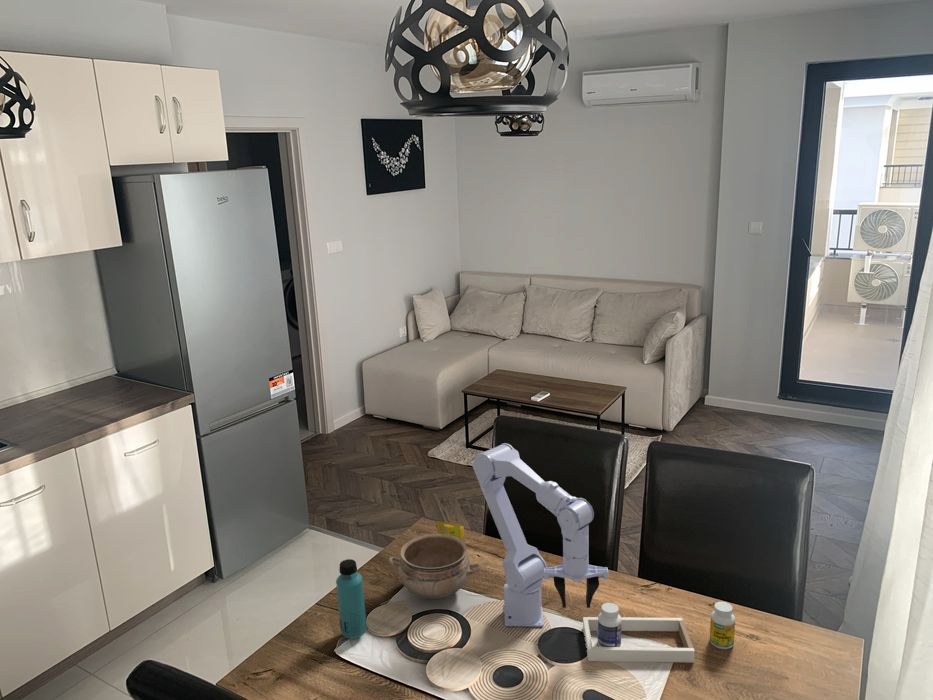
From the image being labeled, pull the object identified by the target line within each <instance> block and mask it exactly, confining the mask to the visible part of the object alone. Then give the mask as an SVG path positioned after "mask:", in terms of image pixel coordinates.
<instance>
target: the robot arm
mask: <svg viewBox="0 0 933 700" xmlns="http://www.w3.org/2000/svg"><path fill="white" fill-rule="evenodd" d="M471 466H472V469H473V471H474V474H475V475H476V479H477V482H478V484H479V486H480V489H481V491H482V494H483V496H484V498H485V501H486V503H487V507H488V509H489V512H490V514H491V516H492V519H493V521H494V523H495V526H496V528H497V531H498V534H499V536H500V538H501V541H502V544H503V545H504V548H505V550H506V553H505V557H504V560H503V562H502V568H503V570H504V578H505V582H506V583H504V585H503V586H504V587H503V588H504V589H503V590H504V591H503V595H504V596H503V599H504V600H503V602H504V604H503V606H502V611H503V612H502V613H504V626H505V627H530V628H531V627H536V628H538V627H544V625H545V623H544V611H543V608H544V607H543V606H542V585H543V582H544V580H549V579H553V584H554V586H555V588H556V590H557V593H558V594H559V597H560V600H561V604H562V608H563V609H566V607H567V602H566V583H565V582H566V581H565V579H568V580H572V582H573V583H580V582H583V580H585V579H586V590H585V591H586V594H585V603H586V608H587V609H590V608H591V604H592V600H593V597H594V595H595V593H596V591H597V590H598V589H599V586H600V580H599V579H601V578H602V579H603V580H609V579H610V578H609V569H608V568H609V567H608V566H607V567H606V566H604V567H603V566H597V565H591V564H589V563H590V562H589V547H590V545H589V542H590V541H589V536H590V535H589V531H590V530H589V524H590V523H591V522H592V521H593V520H594V517H595V512H594V508H593V506H592V505H591V503H590V502H589V501H587V499H585V498H583V497H576V496H573V495H571V494H570V493H569V492H567V491H566V490H564V489H563V488H562V487H560V486H559V484H558V483H557V482H555V481H553V480H549V481H548V480H547V481H545V480H544V479H543V478H541V476H539V475H538V474H537V473H536V472H535V471H534V470H533V469H532V468H531V467H530V466H529V465H527V463H525V462H524V461H523V460H522V459H521V458H520V453H519V451H518V450H517V449H515V448H514V447H513V446H512V445H511V444H510V443H505V442H504V443H501V444H500V445H497V446H494V447H493V448H490V449H488V450H485V451H483V452H480V453H479V452H478V453H477V454H476V455H475V456H474V459H473V461H472V465H471ZM507 477H512V478H513V479H514V480H516V481H517V482H519V483H520V484H521V485H523V486H525V487H526V488H527V489H529V490H531V491H532V492H533V493H535V497H536V500H537V502H538V503H539V504H541V505H542V506H543V507H545V509H546V510H548V511H550V513H552V514H553V515H554V516H555V517H556V519H557V523H558V524H559V527H560V529H561V535H562V559H563V560H562V563H563V564H558V565H555V566H550V567H549V566H548V565H547V562H546V560H545V559H544V558H543V557H542V556H541V554H540V552H539V550H538V548H537V547H535V546H533V545H530V544H528V543H527V540H526V536H525V535H524V532H523V529H522V528H521V525H520V523H519V520H518V518H517V515H516V513H515V511H514V508H513V505H512V504H511V501H510V499H509V496H508V493H507V491H506V488H505V486H504V483H505V482H506V478H507Z"/></svg>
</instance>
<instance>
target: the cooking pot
mask: <svg viewBox="0 0 933 700" xmlns="http://www.w3.org/2000/svg"><path fill="white" fill-rule="evenodd" d="M467 552H468V546H467V544H466V543H464V542H463V541H462V540H461V539H459V538H457V537H455V536H452V535H447V534H438V533H428V534H423V535H422V534H421V535H418V536H416V537H413V538H411V539H410V540H408V541H407V542H406V543H404V544H403V546H402V547H401V549H400V557H397V556H390V557H389V559H388V563H389V564H390V566H391V567H393V569H396V571H398V575H399V579H400V582H401V583H402V585H403V586H404V588H405V589H407V590H408V592H410V593H411V594H413V595H415V596H417V597H420V598H423V599H424V598H425V599H432V600H433V599H434V600H435V599H436V600H437V599H441V598H446V597H450V596H452V595H454V594H455V593H457V592H459V591H460V590H461V589H462V588H463V587H464V585H466V583H467V581H468V579H469V578H470V576H471V575H473V574H475V573H477V572H478V571H480V570H481V568H482V564H481V563H472V562H470V558H469V555H468V554H467ZM394 561H396V562H398V563H399V564H396V563H395V562H394Z"/></svg>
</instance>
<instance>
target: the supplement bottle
mask: <svg viewBox="0 0 933 700" xmlns="http://www.w3.org/2000/svg"><path fill="white" fill-rule="evenodd" d="M733 609H734V607H733V606H732V604H730V603H729V602H725V601H716V602H715V603H714V608H713V610H712V612H711V614H710V623H709V624H710V625H709V626H710V627H709V642H710V644H711V645H712V646H713V647H715V648H717V649H720V650H729V649H731V648H733V646H734V645H735V633H736V616H735V614H733V613H734V612H733Z"/></svg>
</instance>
